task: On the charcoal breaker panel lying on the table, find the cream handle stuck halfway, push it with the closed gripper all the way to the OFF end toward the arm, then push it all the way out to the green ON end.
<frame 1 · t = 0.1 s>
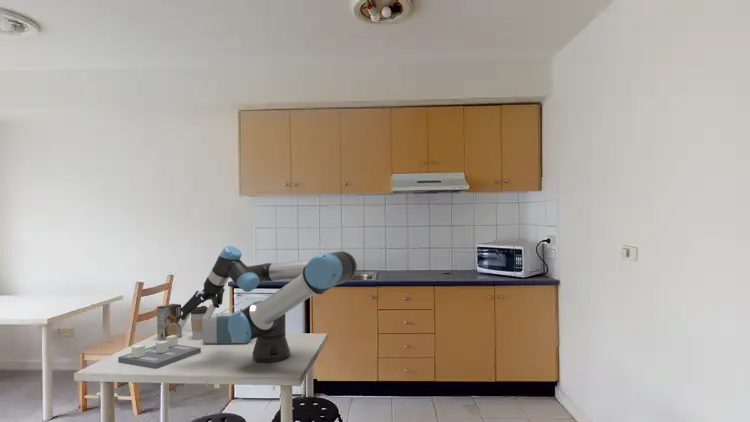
hand: (194, 321, 178), 15 cm above the table, tool tilted 35°, fingers open, 13 cm apart
breaker handle 1: (138, 351, 174), point 4 cm above the table, slide at 8.0 cm
coffee box: (169, 338, 210), on the table
breaker panel: (160, 357, 180), on the table
stereo radio cassette player: (227, 343, 201), on the table
tripped breaker handle: (162, 346, 180), point 4 cm above the table, slide at 4.0 cm
breaker handle 2: (171, 340, 189), point 4 cm above the table, slide at 8.0 cm
coffee cup: (200, 338, 210), on the table
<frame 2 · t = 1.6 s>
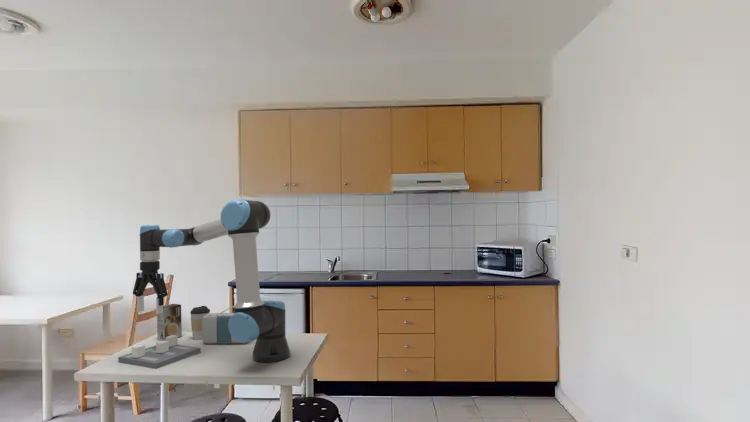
hand: (149, 312, 183), 18 cm above the table, tool pointing down, fingers open, 11 cm apart
nothing on the table moved.
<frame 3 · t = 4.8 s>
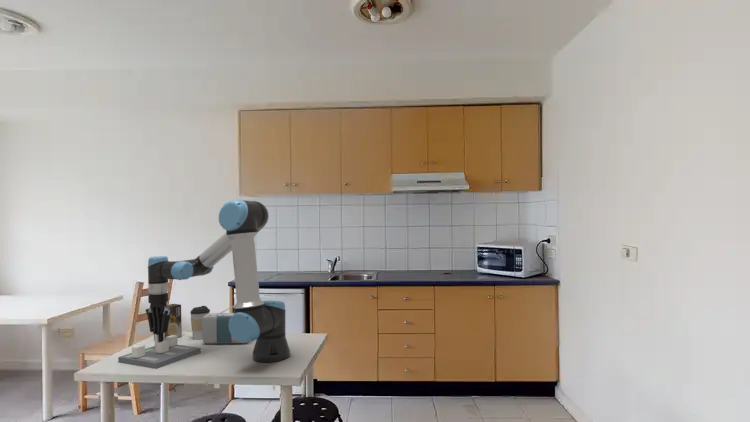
hand: (158, 349, 181), 3 cm above the table, tool pointing down, fingers closed
tripped breaker handle: (162, 346, 180), point 4 cm above the table, slide at 4.0 cm, touching gripper
everything else where it was.
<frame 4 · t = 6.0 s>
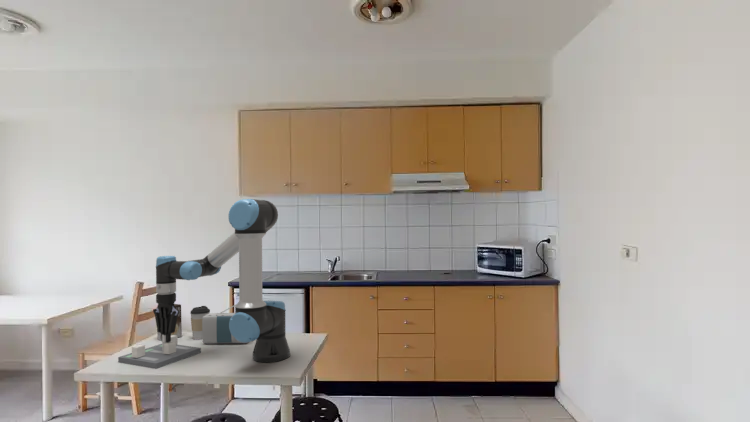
hand: (166, 349, 179), 3 cm above the table, tool pointing down, fingers closed
tripped breaker handle: (169, 347, 178), point 4 cm above the table, slide at -0.3 cm, touching gripper
everything else where it was.
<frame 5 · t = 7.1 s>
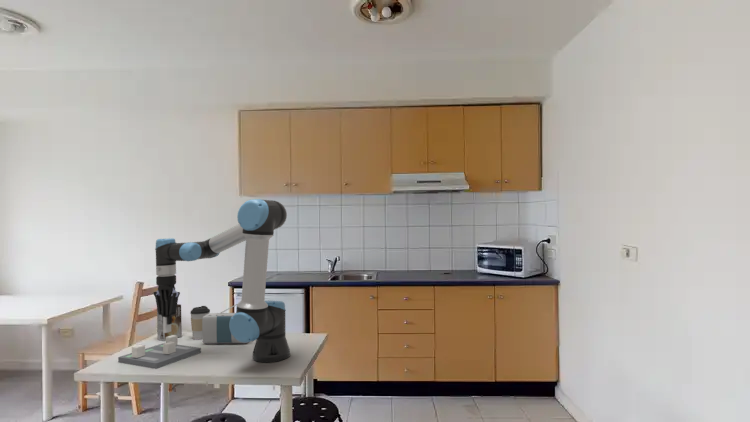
hand: (167, 332, 179), 11 cm above the table, tool pointing down, fingers closed
tripped breaker handle: (169, 347, 178), point 4 cm above the table, slide at -0.1 cm
everything else where it was.
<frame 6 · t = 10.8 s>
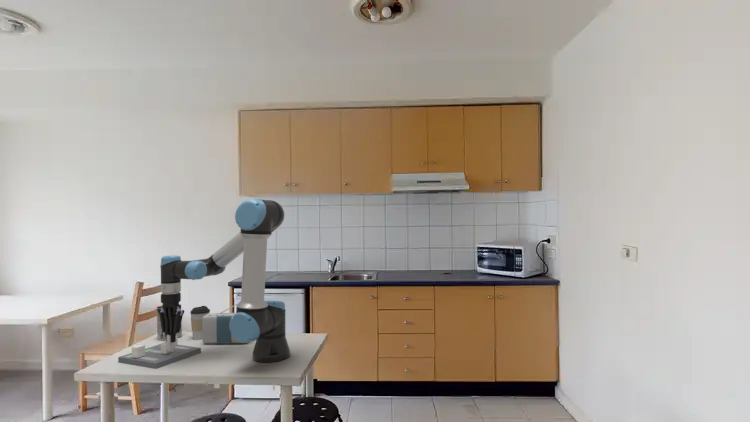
hand: (170, 349, 178), 4 cm above the table, tool pointing down, fingers closed
tripped breaker handle: (167, 347, 179), point 4 cm above the table, slide at 1.2 cm, touching gripper
everything else where it was.
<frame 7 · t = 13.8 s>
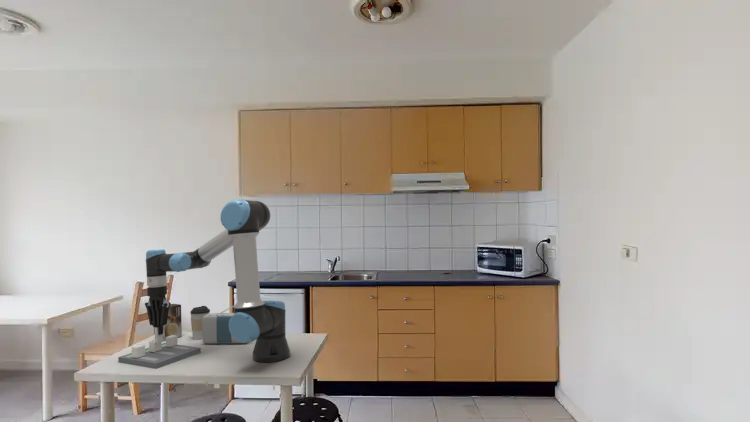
hand: (159, 342, 181), 6 cm above the table, tool pointing down, fingers closed
tripped breaker handle: (155, 345, 181), point 4 cm above the table, slide at 8.3 cm, touching gripper
everything else where it was.
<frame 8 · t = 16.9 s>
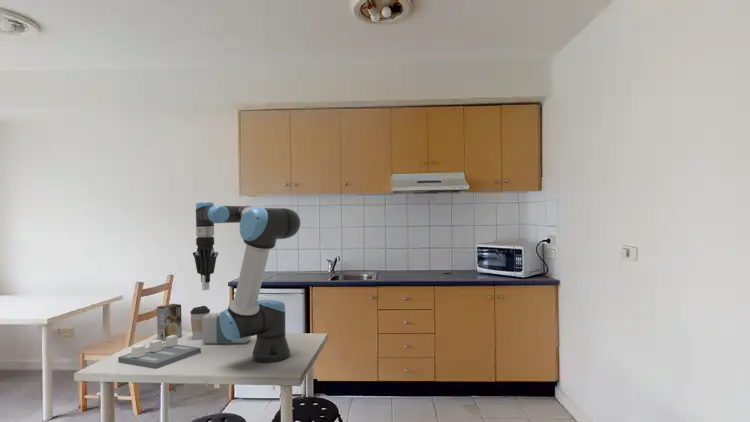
hand: (205, 289, 190), 26 cm above the table, tool pointing down, fingers closed
tripped breaker handle: (155, 345, 181), point 4 cm above the table, slide at 8.1 cm
everything else where it was.
at the end: tripped breaker handle slide at 8.1 cm; breaker handle 2 slide at 8.0 cm; breaker handle 1 slide at 8.0 cm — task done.
